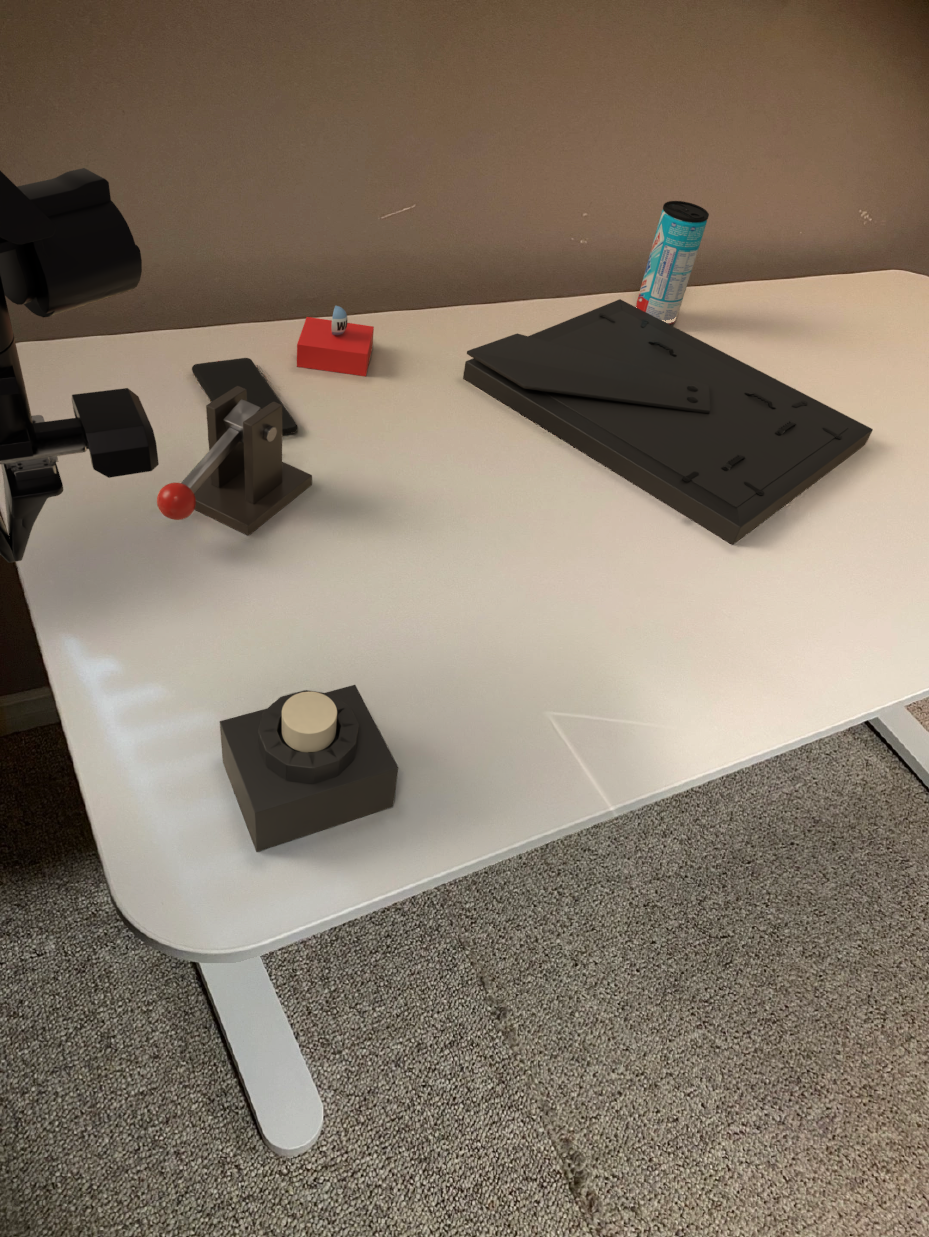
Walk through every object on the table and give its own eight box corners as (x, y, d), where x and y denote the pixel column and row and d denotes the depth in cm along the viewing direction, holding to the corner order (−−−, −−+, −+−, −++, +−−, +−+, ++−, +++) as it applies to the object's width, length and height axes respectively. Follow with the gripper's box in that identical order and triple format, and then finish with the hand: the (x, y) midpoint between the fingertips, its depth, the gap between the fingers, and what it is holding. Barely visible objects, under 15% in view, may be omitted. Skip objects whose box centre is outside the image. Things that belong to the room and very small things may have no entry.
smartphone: (250, 356, 106) (300, 426, 97) (250, 363, 106) (299, 433, 98) (189, 363, 103) (235, 437, 94) (190, 370, 103) (235, 444, 95)
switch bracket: (248, 536, 85) (245, 446, 78) (179, 502, 87) (170, 412, 80) (312, 484, 92) (314, 398, 85) (246, 454, 94) (243, 368, 87)
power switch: (185, 532, 80) (174, 510, 77) (156, 518, 81) (144, 496, 78) (272, 430, 86) (264, 406, 83) (244, 417, 86) (235, 393, 84)
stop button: (292, 759, 61) (292, 739, 59) (274, 718, 63) (274, 699, 62) (343, 743, 62) (345, 724, 61) (324, 705, 64) (325, 685, 63)
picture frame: (462, 378, 110) (732, 545, 94) (466, 350, 108) (744, 517, 92) (615, 314, 128) (864, 445, 112) (622, 289, 126) (878, 420, 109)
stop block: (256, 852, 62) (254, 796, 58) (222, 761, 67) (218, 703, 63) (393, 807, 66) (401, 751, 62) (352, 724, 71) (356, 667, 67)
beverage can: (657, 307, 132) (689, 199, 122) (683, 327, 128) (718, 217, 118) (624, 312, 129) (654, 202, 119) (650, 332, 126) (682, 221, 116)
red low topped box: (372, 348, 113) (375, 298, 108) (365, 376, 108) (369, 325, 103) (306, 338, 112) (307, 288, 108) (296, 366, 107) (297, 315, 103)
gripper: (105, 261, 59) (133, 465, 69) (-249, 285, 51) (-156, 509, 62) (147, 348, 52) (171, 559, 63) (-253, 390, 44) (-148, 621, 55)
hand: (14, 557), depth 61 cm, fingers closed
